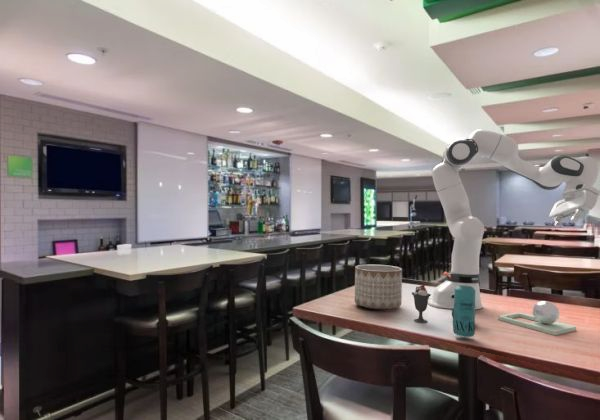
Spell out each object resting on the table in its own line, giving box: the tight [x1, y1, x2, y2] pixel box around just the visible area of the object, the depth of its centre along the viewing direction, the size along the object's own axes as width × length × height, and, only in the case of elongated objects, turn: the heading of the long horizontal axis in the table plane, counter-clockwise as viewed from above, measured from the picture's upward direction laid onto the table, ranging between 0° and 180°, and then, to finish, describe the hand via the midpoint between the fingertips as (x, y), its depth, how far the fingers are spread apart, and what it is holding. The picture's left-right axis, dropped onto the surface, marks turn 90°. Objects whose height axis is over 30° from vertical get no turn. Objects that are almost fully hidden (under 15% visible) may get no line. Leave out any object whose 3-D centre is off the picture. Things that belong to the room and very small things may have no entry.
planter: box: [354, 264, 403, 311], centre depth 156 cm, size 19×19×16 cm
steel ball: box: [532, 300, 560, 324], centre depth 131 cm, size 8×8×8 cm
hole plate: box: [497, 312, 577, 336], centre depth 134 cm, size 20×13×1 cm, turn 28°
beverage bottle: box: [452, 275, 476, 338], centre depth 118 cm, size 6×7×20 cm
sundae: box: [411, 280, 432, 324], centre depth 136 cm, size 7×7×15 cm
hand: (565, 223), depth 144 cm, fingers open, 8 cm apart
